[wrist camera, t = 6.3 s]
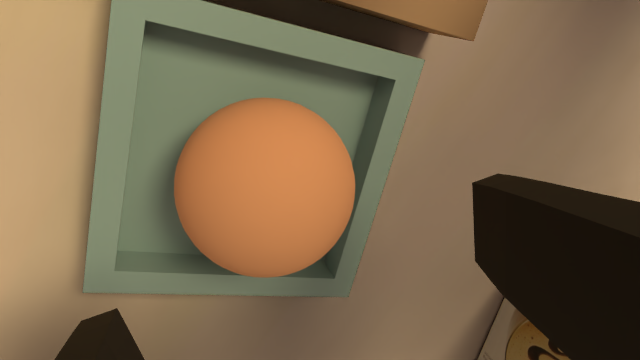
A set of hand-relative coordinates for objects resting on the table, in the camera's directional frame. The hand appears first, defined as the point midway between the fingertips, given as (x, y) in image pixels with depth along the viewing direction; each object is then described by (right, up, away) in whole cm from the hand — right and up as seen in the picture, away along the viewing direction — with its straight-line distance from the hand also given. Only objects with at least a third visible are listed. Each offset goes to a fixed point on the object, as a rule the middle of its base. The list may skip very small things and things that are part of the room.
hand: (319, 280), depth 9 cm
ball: (-2, +3, +6) cm, 7 cm away
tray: (-3, +3, +7) cm, 8 cm away
